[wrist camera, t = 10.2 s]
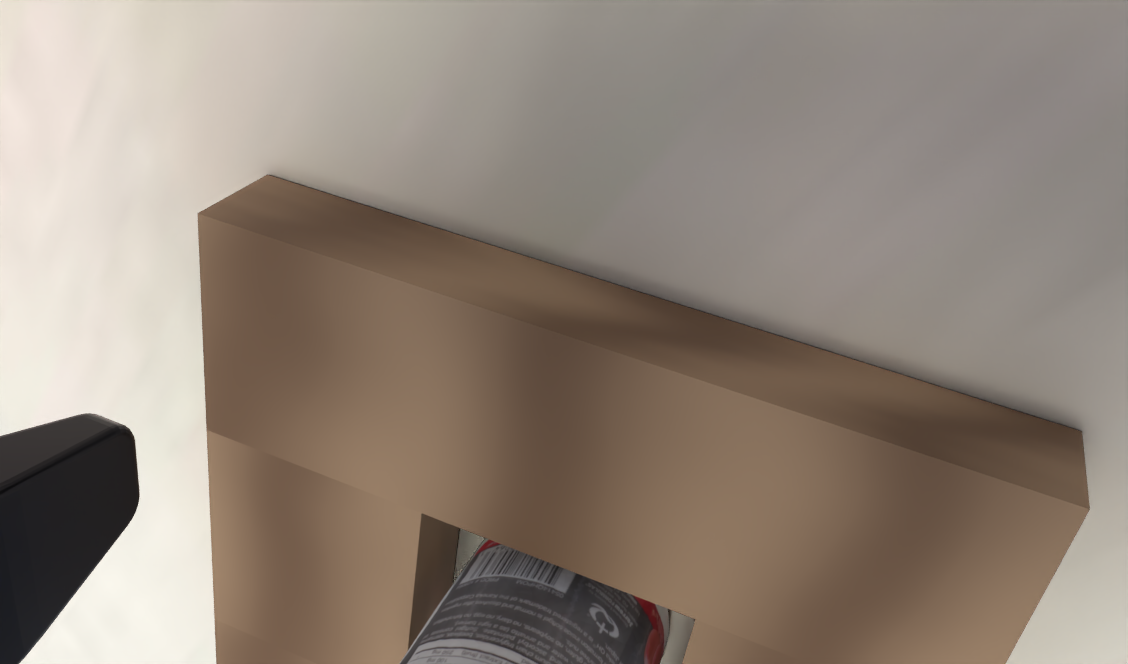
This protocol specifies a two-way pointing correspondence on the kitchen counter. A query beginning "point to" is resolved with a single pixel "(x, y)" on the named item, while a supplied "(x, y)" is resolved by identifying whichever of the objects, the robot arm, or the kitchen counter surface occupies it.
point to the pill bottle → (537, 617)
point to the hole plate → (588, 456)
